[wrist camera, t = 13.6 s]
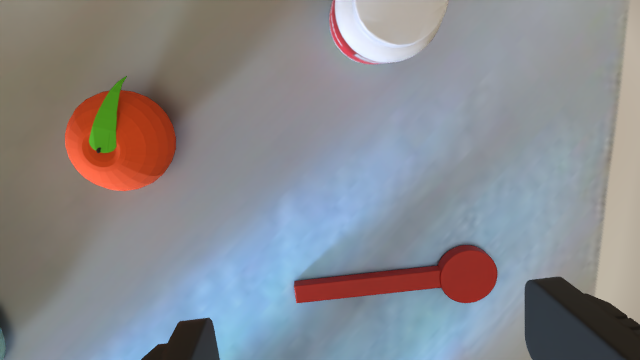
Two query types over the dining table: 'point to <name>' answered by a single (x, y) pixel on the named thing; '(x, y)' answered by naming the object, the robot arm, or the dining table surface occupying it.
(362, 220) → the dining table surface
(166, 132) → the clementine
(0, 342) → the penguin figurine
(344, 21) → the pill bottle
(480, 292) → the spoon
